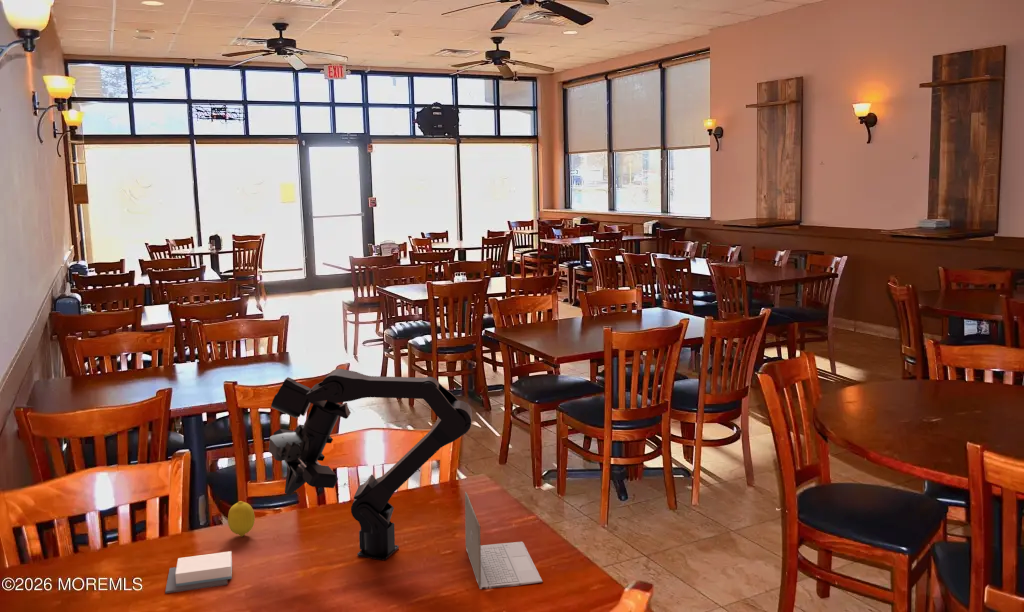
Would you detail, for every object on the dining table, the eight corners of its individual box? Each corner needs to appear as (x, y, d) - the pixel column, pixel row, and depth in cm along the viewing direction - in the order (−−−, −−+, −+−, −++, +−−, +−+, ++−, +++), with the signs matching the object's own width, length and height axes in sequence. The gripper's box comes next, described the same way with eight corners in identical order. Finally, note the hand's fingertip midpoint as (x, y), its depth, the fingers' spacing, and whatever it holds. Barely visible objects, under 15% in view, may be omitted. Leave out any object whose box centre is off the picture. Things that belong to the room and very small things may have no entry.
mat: (228, 562, 167) (228, 560, 167) (227, 584, 158) (227, 582, 158) (169, 569, 164) (169, 568, 164) (165, 593, 154) (165, 591, 154)
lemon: (260, 532, 181) (258, 498, 180) (244, 543, 176) (242, 507, 175) (239, 529, 183) (237, 495, 182) (223, 539, 178) (221, 504, 177)
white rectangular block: (231, 551, 165) (178, 558, 162) (230, 566, 159) (175, 574, 156) (232, 562, 166) (178, 570, 163) (231, 578, 159) (176, 586, 156)
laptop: (542, 584, 158) (543, 520, 156) (478, 591, 156) (478, 526, 154) (523, 544, 176) (523, 486, 174) (465, 550, 173) (464, 491, 171)
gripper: (264, 400, 168) (234, 467, 169) (305, 446, 155) (272, 518, 157) (309, 407, 176) (280, 471, 178) (352, 452, 163) (320, 520, 165)
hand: (287, 493), depth 169 cm, fingers closed
